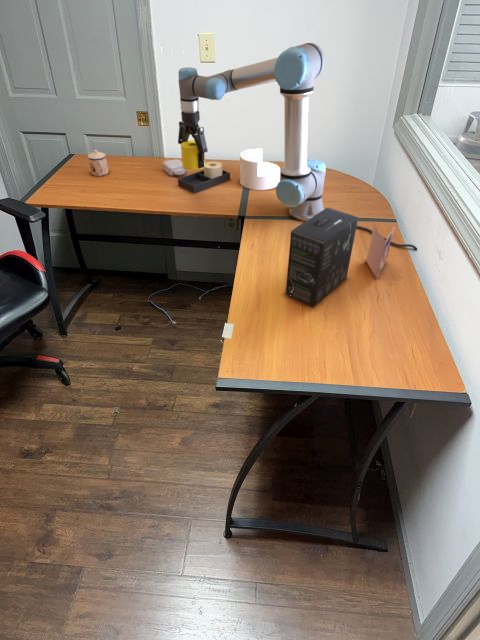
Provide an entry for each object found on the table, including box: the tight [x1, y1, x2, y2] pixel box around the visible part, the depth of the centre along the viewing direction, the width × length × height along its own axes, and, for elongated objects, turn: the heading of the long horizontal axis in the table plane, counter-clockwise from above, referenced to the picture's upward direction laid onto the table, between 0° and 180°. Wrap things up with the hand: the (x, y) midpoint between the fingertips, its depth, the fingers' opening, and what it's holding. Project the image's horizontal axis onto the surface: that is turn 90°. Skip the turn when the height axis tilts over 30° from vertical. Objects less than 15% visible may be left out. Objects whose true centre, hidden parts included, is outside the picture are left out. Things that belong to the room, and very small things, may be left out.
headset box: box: [285, 207, 359, 308], centre depth 142 cm, size 22×12×26 cm, turn 141°
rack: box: [177, 169, 231, 194], centre depth 217 cm, size 12×24×4 cm, turn 133°
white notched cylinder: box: [239, 147, 281, 191], centre depth 215 cm, size 20×20×13 cm
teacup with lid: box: [87, 149, 109, 177], centre depth 223 cm, size 12×9×12 cm
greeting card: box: [365, 224, 395, 279], centre depth 154 cm, size 11×7×15 cm, turn 151°
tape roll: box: [180, 140, 206, 171], centre depth 192 cm, size 10×10×9 cm
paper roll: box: [203, 161, 223, 179], centre depth 218 cm, size 9×9×7 cm
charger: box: [162, 158, 187, 177], centre depth 225 cm, size 5×9×15 cm
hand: (193, 164), depth 194 cm, fingers closed on tape roll, 10 cm apart
